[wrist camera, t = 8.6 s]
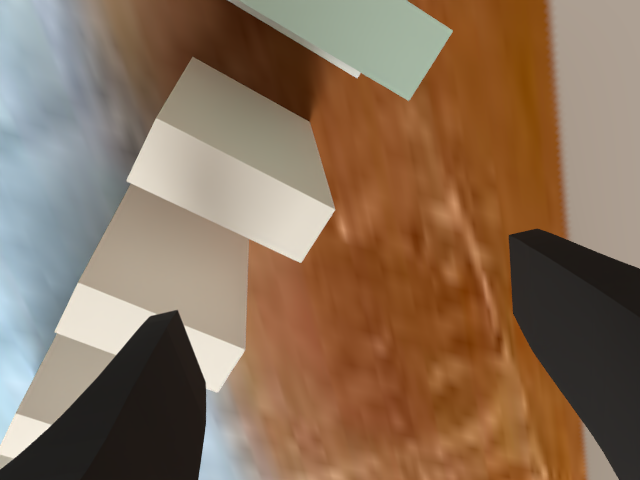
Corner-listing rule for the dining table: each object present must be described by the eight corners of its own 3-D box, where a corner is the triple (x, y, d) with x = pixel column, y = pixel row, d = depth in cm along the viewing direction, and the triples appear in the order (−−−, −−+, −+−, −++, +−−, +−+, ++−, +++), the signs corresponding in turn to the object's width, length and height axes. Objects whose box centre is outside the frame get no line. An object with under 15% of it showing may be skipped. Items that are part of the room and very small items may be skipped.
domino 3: (229, 258, 22) (217, 392, 15) (119, 208, 21) (54, 332, 14) (249, 225, 22) (244, 349, 15) (137, 171, 20) (77, 282, 14)
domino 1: (180, 343, 24) (149, 499, 17) (74, 302, 22) (-4, 453, 16) (197, 314, 23) (172, 463, 16) (89, 270, 22) (15, 413, 15)
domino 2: (287, 160, 21) (300, 263, 14) (172, 99, 19) (125, 181, 13) (309, 121, 20) (335, 209, 13) (192, 56, 19) (156, 117, 12)
